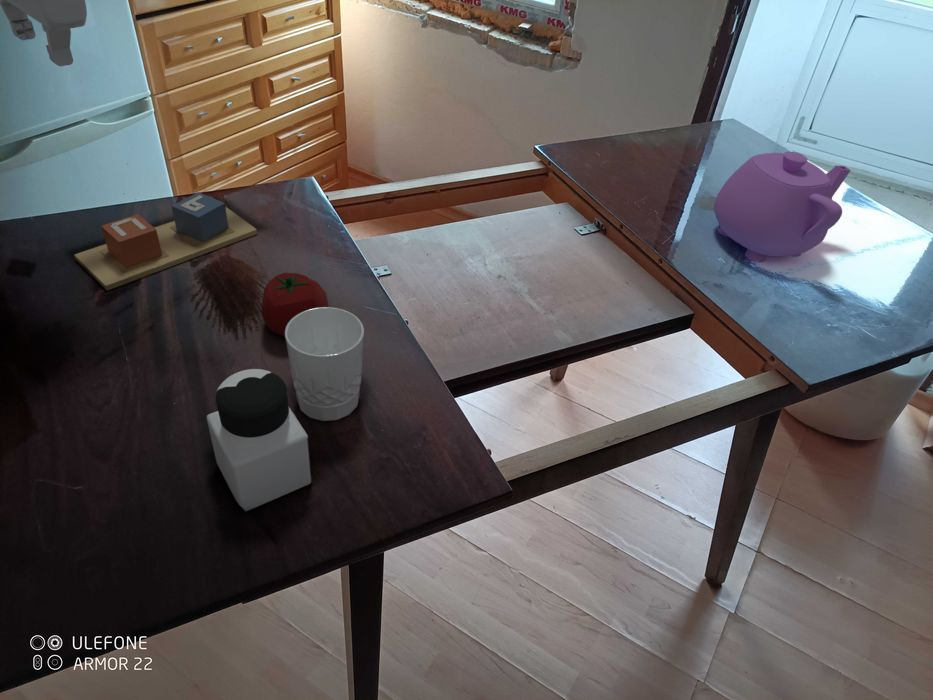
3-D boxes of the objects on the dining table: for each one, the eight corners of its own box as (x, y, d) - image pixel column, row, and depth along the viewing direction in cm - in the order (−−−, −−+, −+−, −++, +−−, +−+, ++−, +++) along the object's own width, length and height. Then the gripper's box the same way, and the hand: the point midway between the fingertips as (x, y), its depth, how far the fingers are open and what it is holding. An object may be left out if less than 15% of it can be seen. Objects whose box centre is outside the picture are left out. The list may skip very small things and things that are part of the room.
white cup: (300, 372, 79) (294, 303, 72) (369, 378, 79) (368, 310, 73) (284, 422, 73) (276, 352, 66) (358, 428, 73) (357, 359, 67)
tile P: (202, 216, 100) (198, 191, 98) (228, 227, 99) (224, 202, 96) (176, 230, 97) (170, 205, 94) (203, 242, 95) (198, 216, 93)
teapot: (865, 272, 107) (915, 185, 98) (763, 288, 101) (806, 197, 91) (783, 209, 121) (819, 127, 111) (688, 220, 115) (718, 135, 105)
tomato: (268, 350, 81) (262, 302, 76) (258, 310, 87) (251, 263, 82) (335, 339, 84) (333, 291, 79) (321, 300, 89) (318, 254, 85)
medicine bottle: (313, 484, 67) (305, 398, 60) (242, 514, 64) (224, 428, 56) (284, 436, 72) (273, 350, 64) (216, 463, 68) (196, 375, 60)
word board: (75, 259, 91) (73, 253, 91) (223, 209, 104) (222, 203, 103) (107, 290, 87) (105, 285, 86) (257, 234, 100) (256, 228, 99)
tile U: (108, 251, 92) (100, 225, 89) (144, 239, 95) (137, 213, 92) (126, 268, 89) (118, 241, 87) (162, 255, 92) (156, 228, 90)
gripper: (-78, -120, 68) (-25, 28, 77) (3, -78, 58) (53, 85, 67) (-9, -121, 72) (34, 20, 81) (79, -82, 62) (116, 73, 71)
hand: (43, 50), depth 74 cm, fingers open, 8 cm apart
